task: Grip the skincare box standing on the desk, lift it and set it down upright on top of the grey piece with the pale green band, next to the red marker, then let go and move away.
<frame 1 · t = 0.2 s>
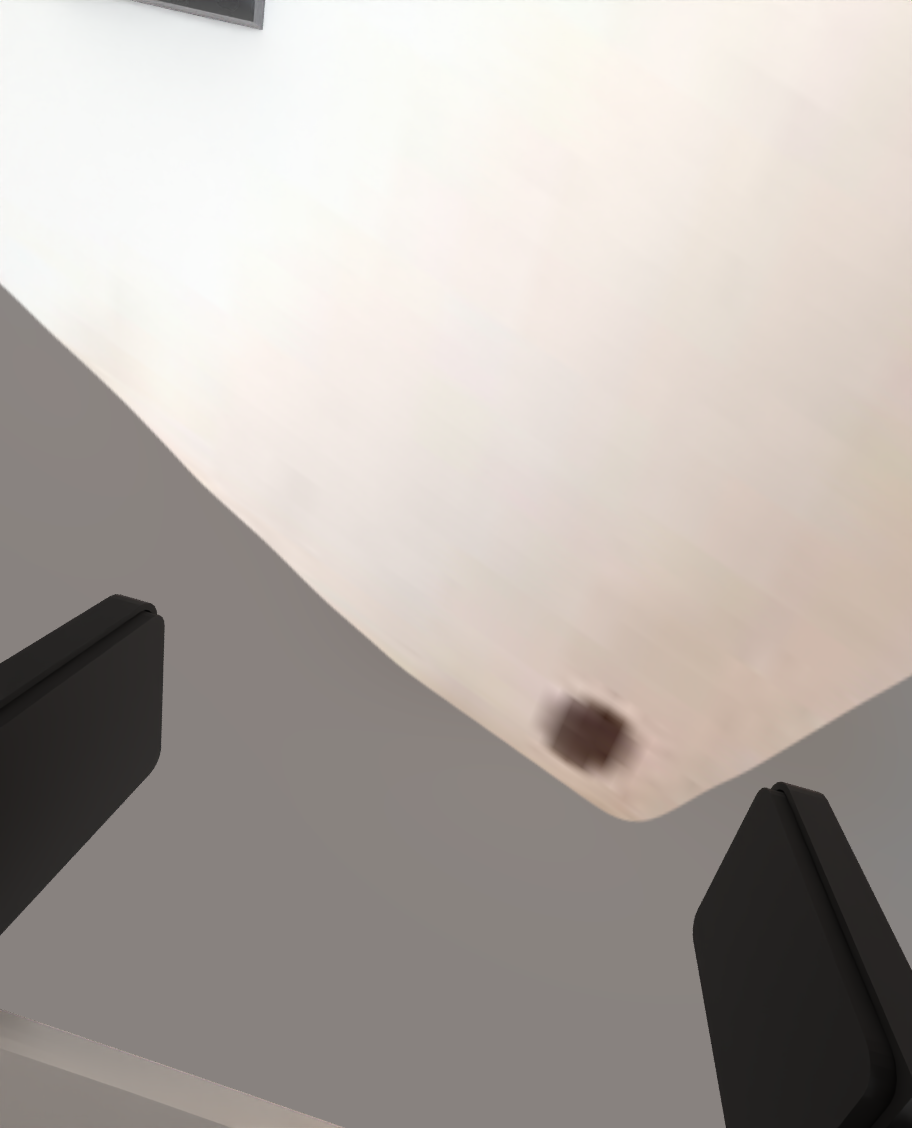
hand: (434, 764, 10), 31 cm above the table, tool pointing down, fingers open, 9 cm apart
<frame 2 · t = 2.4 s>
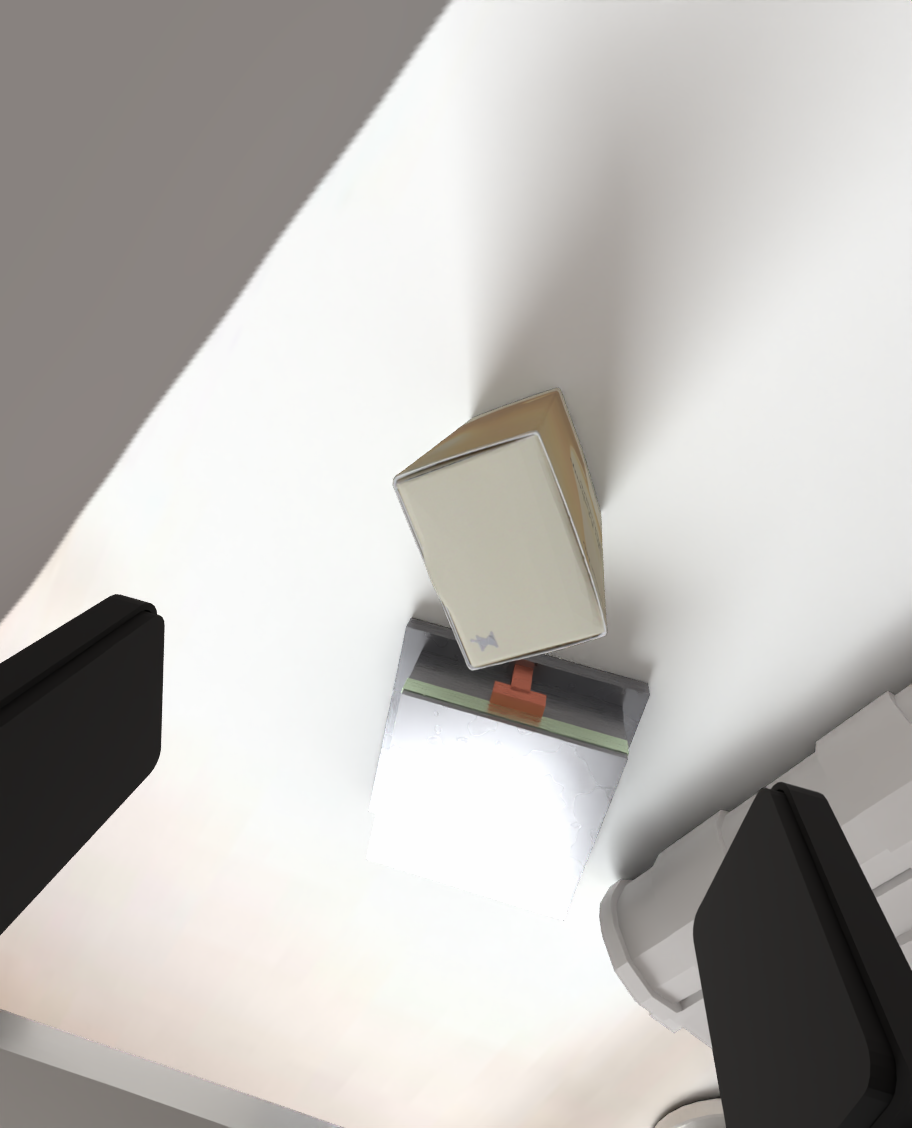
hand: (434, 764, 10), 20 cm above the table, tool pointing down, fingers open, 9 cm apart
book: (845, 885, 34), on the table
grey piece: (499, 745, 34), on the table
skincare box: (534, 464, 29), on the table
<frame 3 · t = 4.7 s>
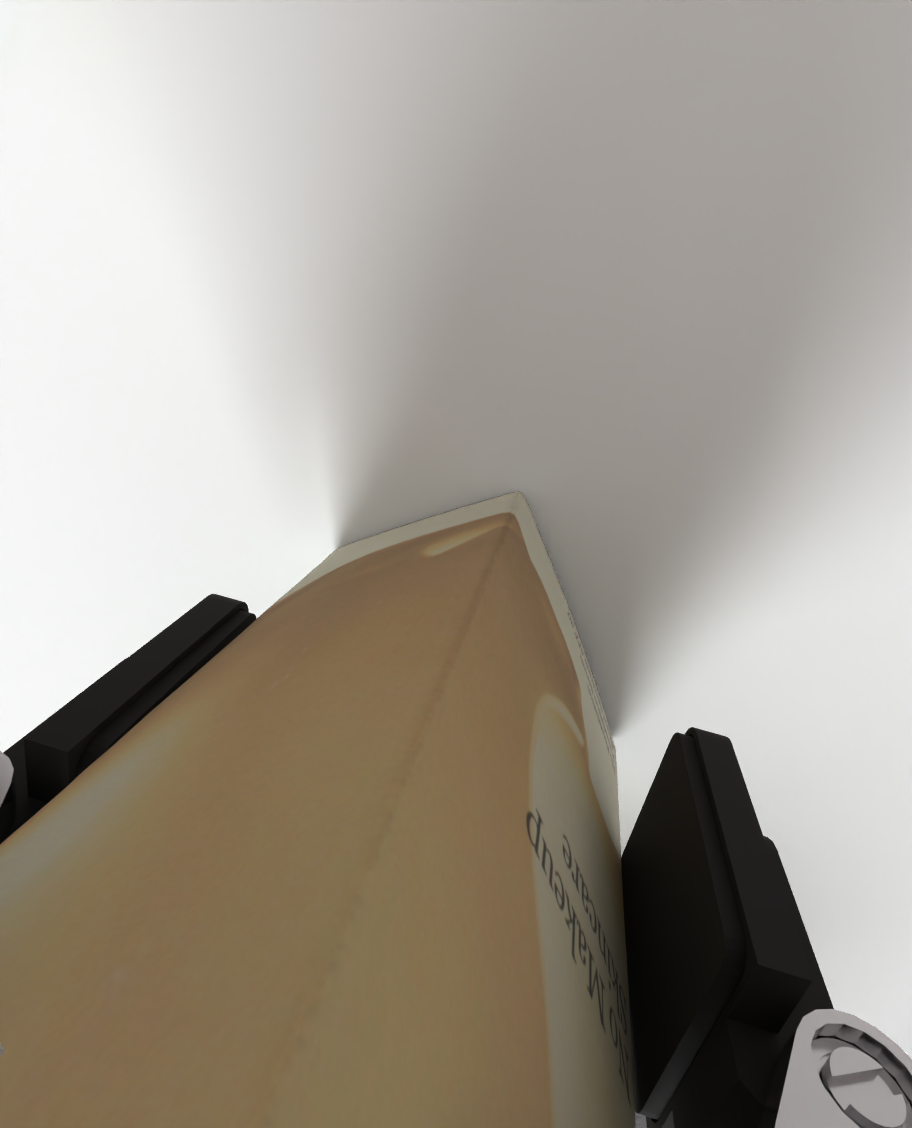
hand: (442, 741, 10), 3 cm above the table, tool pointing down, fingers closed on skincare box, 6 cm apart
skincare box: (475, 640, 14), on the table, touching gripper
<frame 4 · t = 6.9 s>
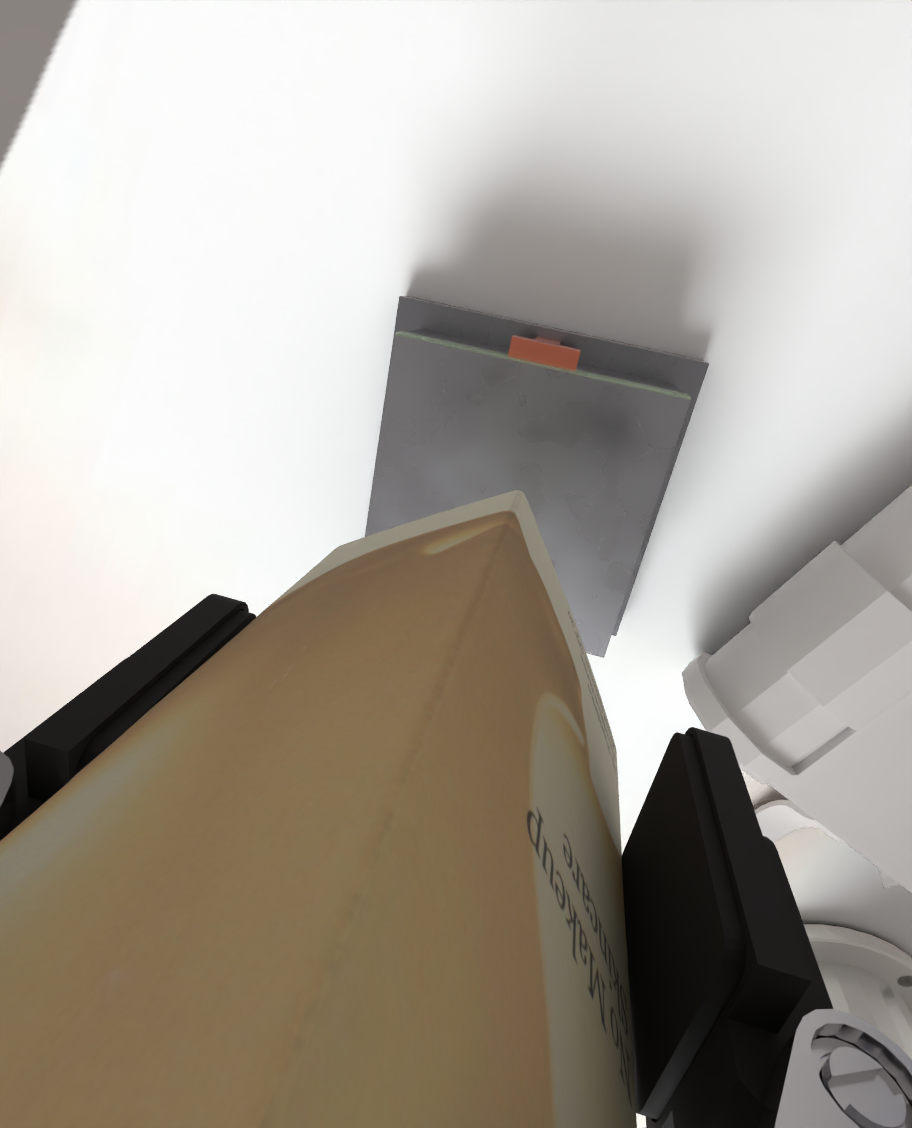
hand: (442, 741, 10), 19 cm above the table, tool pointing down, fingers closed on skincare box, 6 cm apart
grey piece: (517, 472, 28), on the table
skincare box: (475, 639, 14), point 16 cm above the table, touching gripper
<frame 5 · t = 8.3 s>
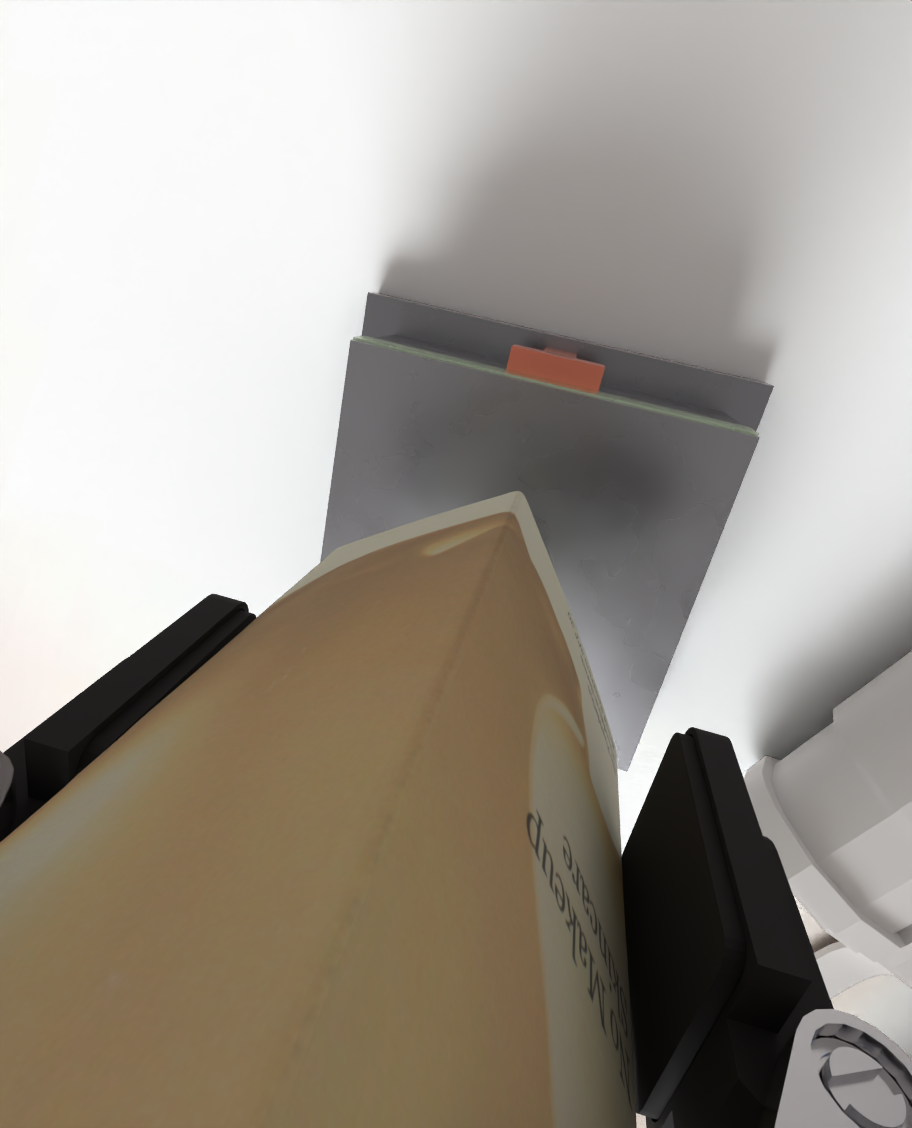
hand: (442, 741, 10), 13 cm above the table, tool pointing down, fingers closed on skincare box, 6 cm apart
grey piece: (518, 519, 22), on the table
skincare box: (475, 640, 14), point 9 cm above the table, touching gripper
when the fingers open (9 cm above the table, at t = 9.4 s): skincare box drops 1 cm, resting on grey piece.
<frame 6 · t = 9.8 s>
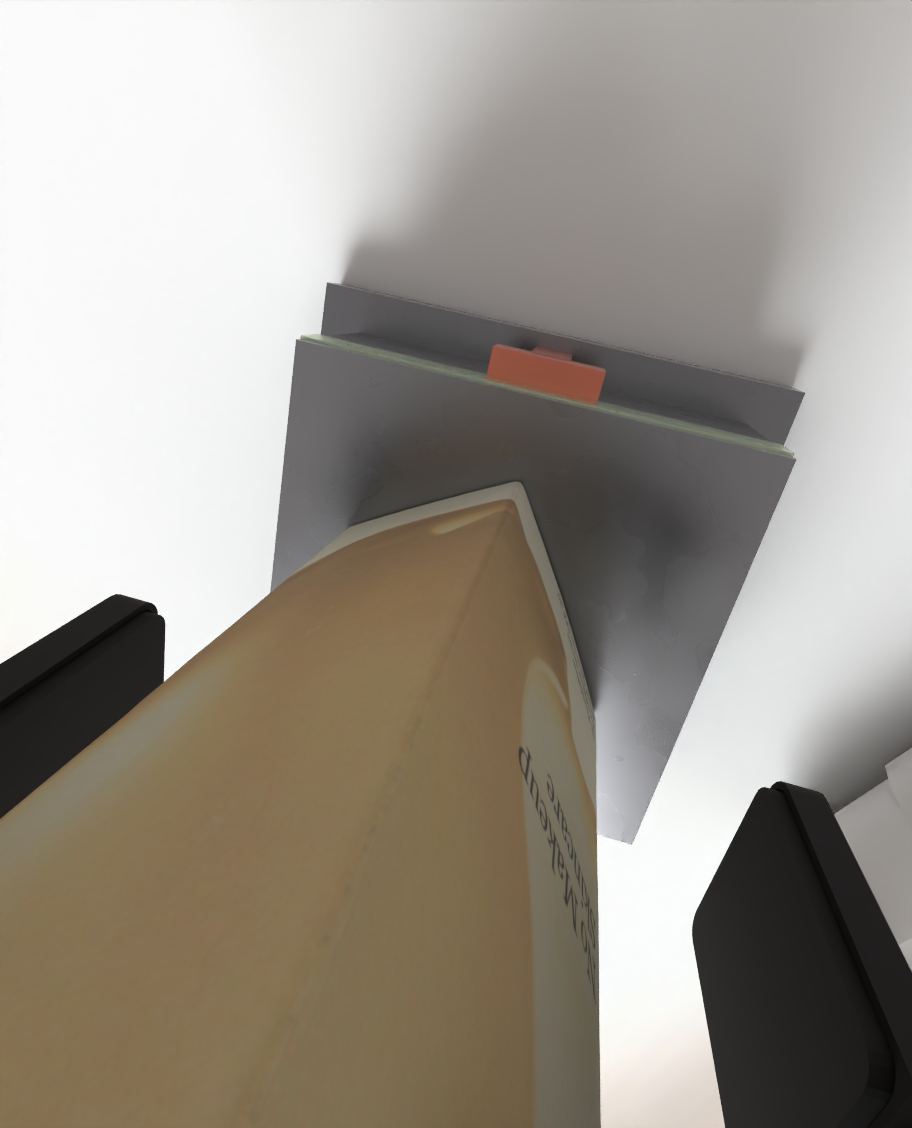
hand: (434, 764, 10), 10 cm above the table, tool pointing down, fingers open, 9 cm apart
grey piece: (505, 544, 19), on the table
skincare box: (471, 617, 15), point 5 cm above the table, touching grey piece
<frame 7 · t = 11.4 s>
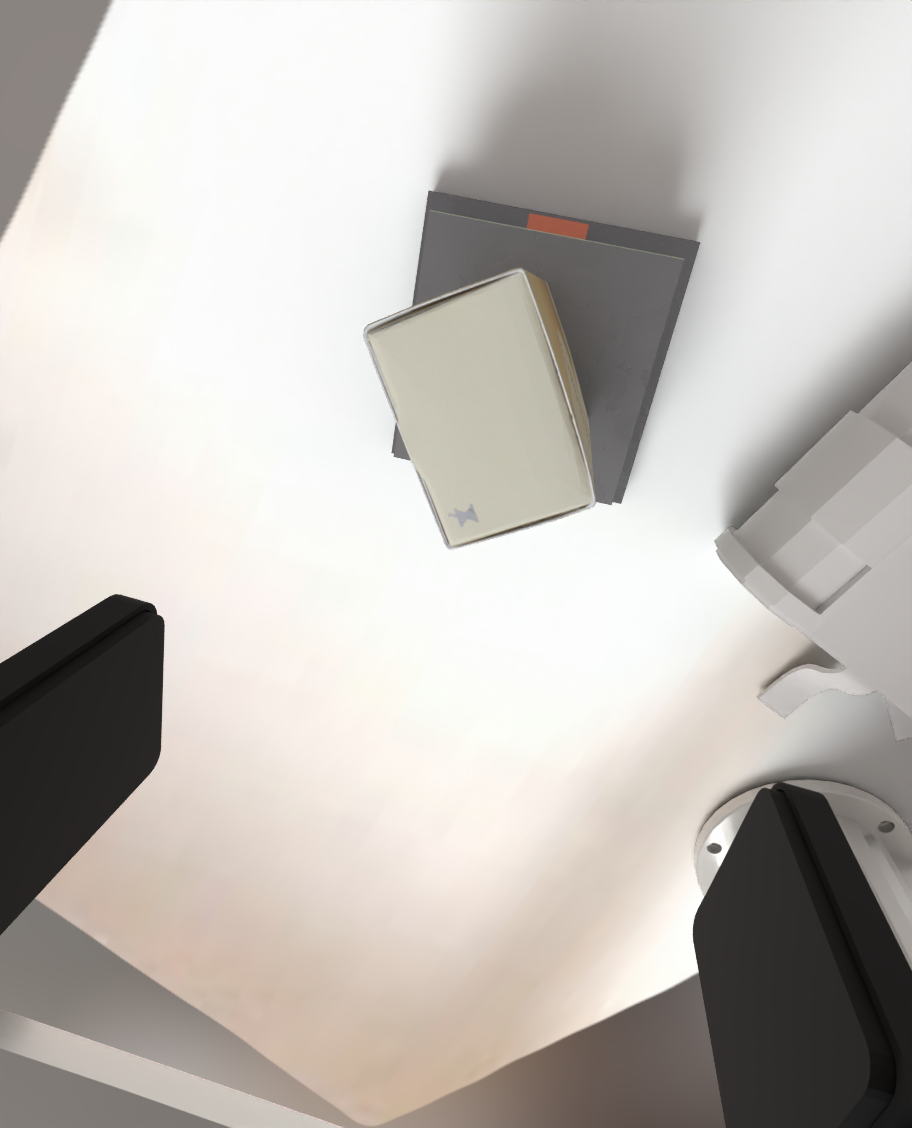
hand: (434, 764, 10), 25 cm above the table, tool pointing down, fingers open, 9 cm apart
grey piece: (532, 355, 32), on the table
skincare box: (519, 368, 27), point 5 cm above the table, touching grey piece
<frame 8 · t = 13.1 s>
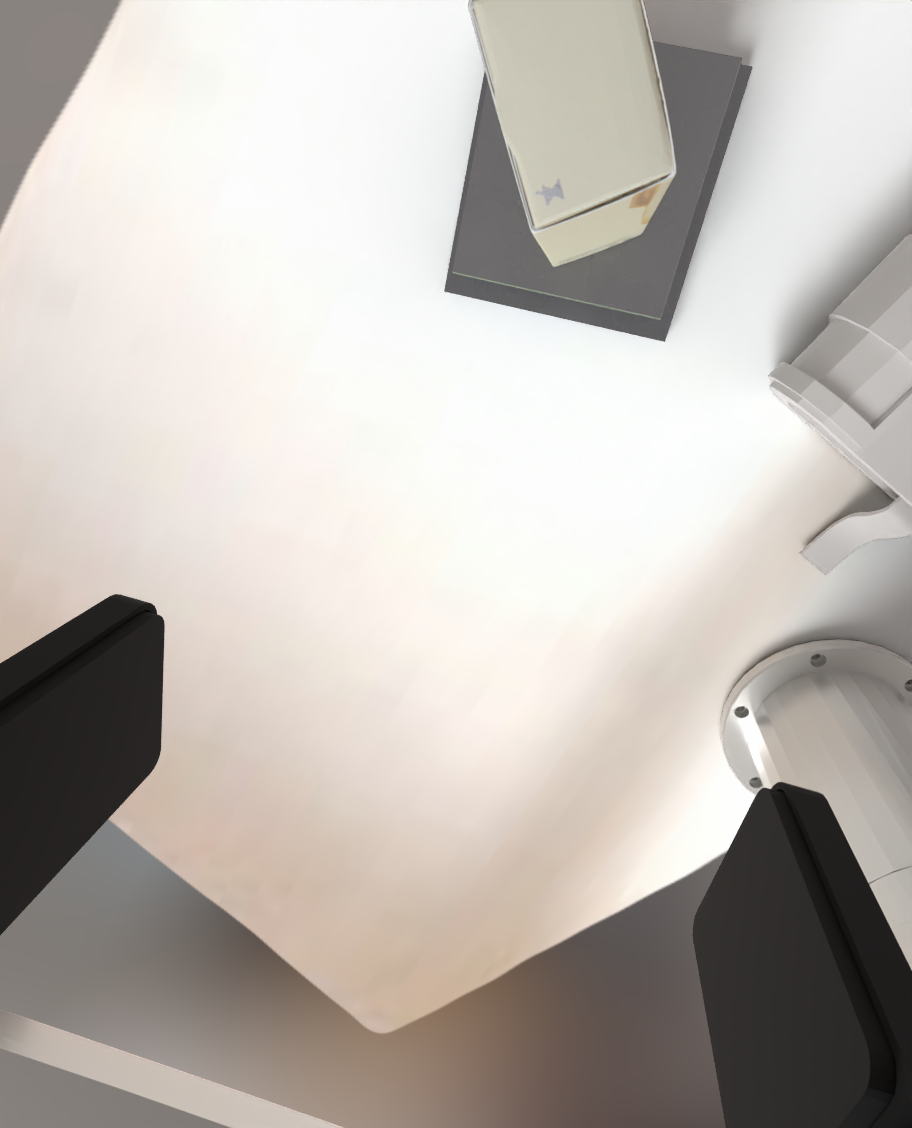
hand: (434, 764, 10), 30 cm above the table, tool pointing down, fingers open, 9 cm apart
grey piece: (584, 192, 33), on the table
skincare box: (578, 177, 29), point 5 cm above the table, touching grey piece
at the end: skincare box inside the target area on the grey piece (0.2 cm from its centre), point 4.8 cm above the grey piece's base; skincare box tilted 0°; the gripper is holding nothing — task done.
